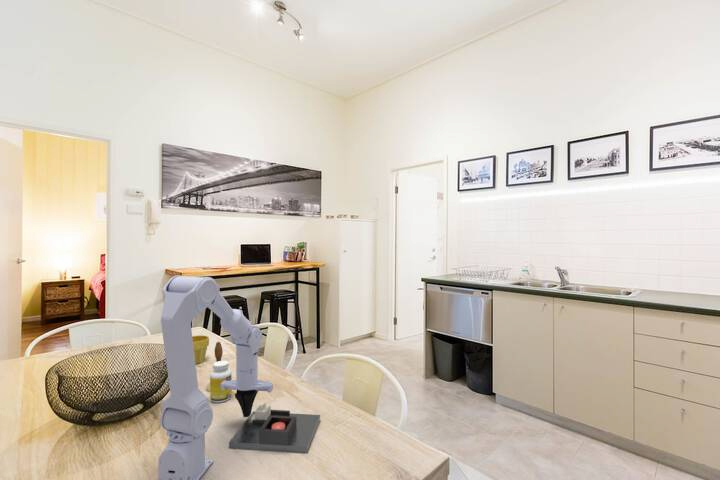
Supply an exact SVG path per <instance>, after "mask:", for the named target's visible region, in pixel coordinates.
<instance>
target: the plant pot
mask: <svg viewBox="0 0 720 480" xmlns="http://www.w3.org/2000/svg"><path fill="white" fill-rule="evenodd" d="M192 339H193V347H194V355H195V364H196V365H197V364H198V365H199V364H201V363H204V362H205V360H206V355H207V350H208V347H209V346H210V336H208V335H202V334H201V335H192Z"/></svg>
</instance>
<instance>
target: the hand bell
mask: <svg viewBox="0 0 720 480" xmlns="http://www.w3.org/2000/svg"><path fill="white" fill-rule="evenodd" d="M214 357H215V360H216V361H215V362H218V361H222V357H223V347H222V343H221V341H217V342H216V343H215V346H214ZM205 390H206V391H207V392H209V393H210V382H209V383H208V384H207V385H206V387H205Z"/></svg>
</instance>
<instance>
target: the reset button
mask: <svg viewBox="0 0 720 480" xmlns="http://www.w3.org/2000/svg"><path fill="white" fill-rule="evenodd" d="M272 429H276V430H285V423H283V422H277V423H274V424H273V425H272Z"/></svg>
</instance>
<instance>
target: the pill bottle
mask: <svg viewBox="0 0 720 480" xmlns="http://www.w3.org/2000/svg"><path fill="white" fill-rule="evenodd" d="M212 368H213V371H211V372H210V375H209V377H210V378H209V383H210V392H209V395H210V396H209V397H210V401H211V402H213V403H224V402H227V401H229V400H231V398H232V395H233V393H232V390H231V389H225V390H221V383H222V382H223V381H230V380H232V370H231V369H230V368H229V361H227V360H221V361H218V362H216V361H215V362H214V363H213V364H212Z"/></svg>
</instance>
